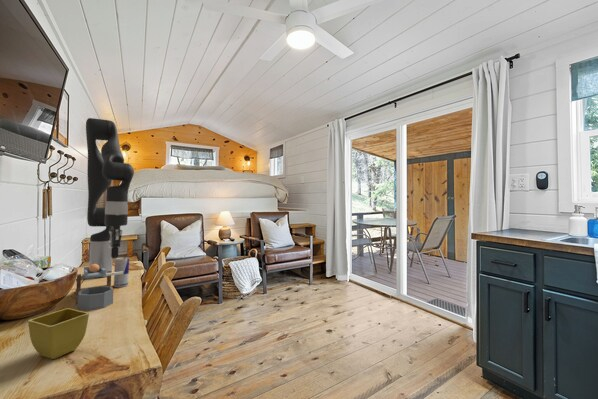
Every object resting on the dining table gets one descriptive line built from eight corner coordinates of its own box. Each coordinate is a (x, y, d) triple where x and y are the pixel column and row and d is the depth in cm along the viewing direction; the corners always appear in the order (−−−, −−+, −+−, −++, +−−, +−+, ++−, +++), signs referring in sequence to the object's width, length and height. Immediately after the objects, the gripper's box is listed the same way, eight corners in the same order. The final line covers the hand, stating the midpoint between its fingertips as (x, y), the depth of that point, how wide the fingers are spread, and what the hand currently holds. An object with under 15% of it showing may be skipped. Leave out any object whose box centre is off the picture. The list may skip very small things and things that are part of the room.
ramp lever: (81, 279, 112) (82, 267, 113) (118, 274, 120) (118, 263, 121) (82, 282, 102) (83, 269, 102) (123, 277, 109) (123, 265, 110)
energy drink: (131, 284, 124) (132, 257, 124) (122, 287, 119) (123, 259, 119) (119, 283, 125) (121, 256, 125) (110, 287, 120) (111, 259, 120)
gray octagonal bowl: (77, 303, 101) (78, 289, 101) (110, 297, 107) (111, 284, 107) (77, 312, 93) (78, 297, 93) (113, 305, 99) (114, 291, 99)
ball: (88, 273, 113) (88, 264, 114) (98, 271, 115) (99, 263, 116) (88, 273, 110) (89, 264, 111) (99, 272, 113) (99, 263, 113)
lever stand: (75, 291, 113) (76, 270, 113) (108, 287, 119) (109, 267, 120) (75, 304, 99) (76, 280, 99) (112, 298, 106) (113, 275, 106)
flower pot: (25, 357, 66) (26, 319, 66) (66, 341, 74) (68, 307, 74) (48, 366, 63) (50, 326, 63) (88, 348, 71) (90, 312, 71)
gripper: (103, 212, 112) (101, 255, 112) (106, 213, 102) (104, 261, 101) (125, 212, 117) (123, 254, 116) (130, 214, 106) (128, 259, 106)
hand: (114, 257), depth 109 cm, fingers closed
